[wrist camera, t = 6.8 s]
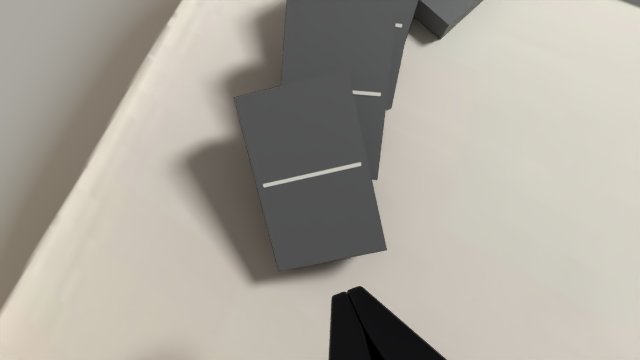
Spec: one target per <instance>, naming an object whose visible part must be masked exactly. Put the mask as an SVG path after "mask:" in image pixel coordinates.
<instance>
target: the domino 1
mask: <svg viewBox="0 0 640 360" xmlns="http://www.w3.org/2000/svg"><path fill="white" fill-rule="evenodd" d="M397 8H398V3H388V2H373V1H359V0H287V3H286V18H285V32H284V47H283V61H282V76H281V85H285V84H289V83H293V82H297V81H301V80H305V79H309V78H313V77H317V76H321V75H325V74H329V73H333V72H336V71H340V70H344V69H348V72H349V77H350V82H351V86H352V91H353V95H354V100H355V105H356V109H357V114H358V119H359V123H360V128H361V132H362V137H363V142H364V146H365V151H366V156H367V160H368V165H369V170H370V174H371V179H372V180H377V178H378V169H379V161H380V152H381V144H382V135H383V127H384V118H385V110H386V101H387V93H388V84H389V76H390V67H391V59H392V50H393V42H394V33H395V25H396V16H397Z"/></svg>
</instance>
